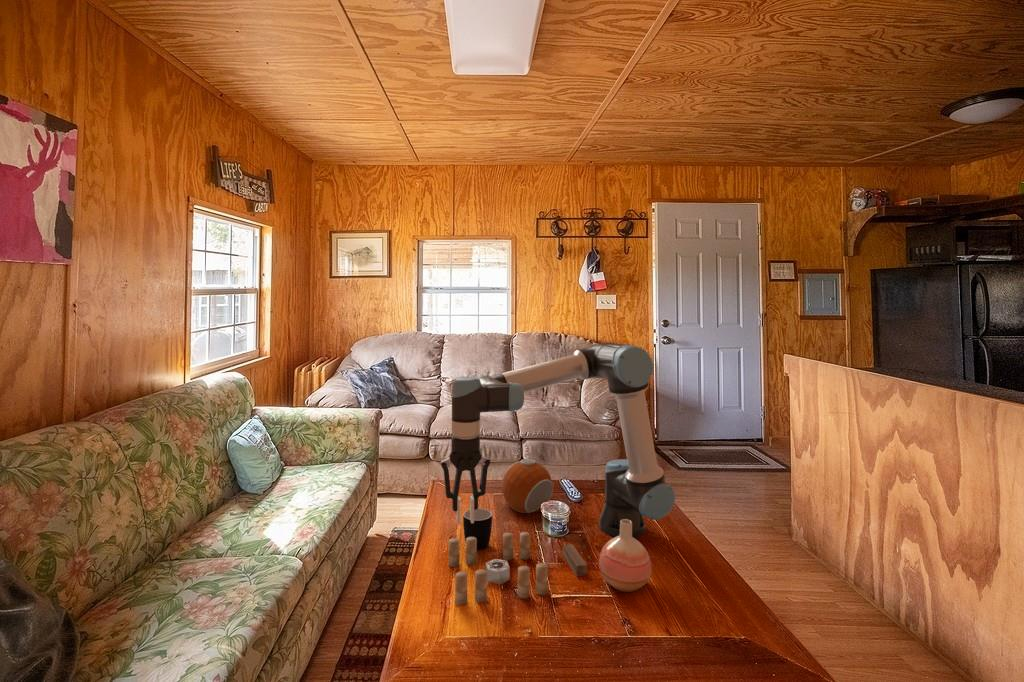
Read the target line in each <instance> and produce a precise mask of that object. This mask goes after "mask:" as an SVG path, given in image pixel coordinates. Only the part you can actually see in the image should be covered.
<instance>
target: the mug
mask: <svg viewBox="0 0 1024 682" xmlns="http://www.w3.org/2000/svg"><path fill="white" fill-rule="evenodd" d="M462 518H463V520H462V523H463V524H462V525H463V533H464V541H465V543H466V538H468V537H475V538H476V539H477V547H476V552H477V551H483V550H485V549H486V548H488V546H489V544H490V539H491V535H492V528H493V527H492V525H493V512H492V511H490V509H486V508H482V507H481V508H480V507H478V509H477V510H474V523H471V521H470V509H468V510H466V511H464V512H463V515H462Z"/></svg>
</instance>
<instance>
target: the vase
mask: <svg viewBox="0 0 1024 682" xmlns="http://www.w3.org/2000/svg"><path fill="white" fill-rule="evenodd" d="M598 559H599V560H598V565H599V567H598V568H599V571H600V573H601V576H602V577H603V578H604V580H605V581H606V582H607V583H608V584H609V585H610V586H612V587H613V588H614V589H615V590H618V591H619V592H623V593H624V592H625V593H631V592H635V591H636V590H639V589H640V588H642V587H643V586H644V585H646V584H647V583H648V581H649V580H650V577H651V574H652V561H651V557H650V555H649V552H648V551H647V549H646V547H645V546H644V545H643V544H642V543H641V542H640V541H639V540H637V539H636V537H634V538H633V537H632V521H630V520H628V519H622V520H621V521H620V535H619V536H617V537H615V536H613V538H611V539H609V540H608V541H607V542H606V543H605V544H604V546H603V547H602V549H601V551H600V554H599V558H598Z"/></svg>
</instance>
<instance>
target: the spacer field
mask: <svg viewBox="0 0 1024 682" xmlns="http://www.w3.org/2000/svg"><path fill="white" fill-rule="evenodd" d="M476 547H477V539H476V538H475V537H468V538H466V542H465V564H466V565H468V566H475V565H476V564H477V551H476ZM530 550H531V533H530V532H528V531H522V532H520V533H519V558H520V559H521V560H523V561H525V560H530V556H531V555H530V554H531V551H530ZM513 559H514V534H513V533H512V532H504V533H503V534H502V560H506V561H511V560H513ZM459 565H460V539H459V538H455V537H453V538H450V539H448V566H449V567H451V568H457V567H458V566H459ZM535 566H536V567H535V593H536V595H539V596H546V595H547V594H548V579H549V578H548V575H549V574H548V573H549V565H548V564H547V563H544V562H539V563H537V564H535ZM530 571H531V568H530V567H528V566H527V565H520V566H518V567H517V597H518V598H520V599H522V600H525V599H528V598H529V597H530V580H531V579H530V578H531V577H530V576H531V575H530ZM474 574H475V575H474V578H475V579H474V580H475V581H474V595H475V596H474V601H475V602H476V603H479V604H483V603H485V602H487V600H488V581H487V571H486V569H477V570H476V571H475V573H474ZM454 576H455V578H454V580H455V585H454V587H455V588H454V589H455V590H454V592H455V593H454V594H455V596H454V597H455V600H454V602H455V605H457V606H465V605H466V604H468V573H467V572H466V571H458V572H456V573H455V574H454Z"/></svg>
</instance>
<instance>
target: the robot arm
mask: <svg viewBox="0 0 1024 682" xmlns="http://www.w3.org/2000/svg"><path fill="white" fill-rule="evenodd" d="M653 373H654V363H653V360H652V357H651V356H650V354H649V353H648V352H647V350H645V349H644V348H642V347H639V346H637V345H634V344H624V343H618V342H617V343H616V342H603V343H598V344H594V345H591V346H588V347H585V348H584V347H583V348H581V349H577V350H575V351H574V352H573V353H572V354H570V355H566V356H563V357H559V358H555V359H551V360H547V361H544V362H540V363H535V364H532V365H528V366H524V367H521V368H517V369H516V368H515V369H513V370H509V371H504V372H501V373H497V374H493V375H486V374H485V375H479V376H459V377H455V378H454V379H453V380H452V384H451V385H452V386H451V394H450V396H451V435H452V437H451V453H450V454H449V457H447V458H445V459H440V465H441V468H442V470H443V477H444V478H443V479H444V488H445V497H446V499H451V500H452V503H451V504H452V507H451V508H452V511H453V512H456V516H455V518H456V524H457V525H461V497H460V496H459V492H460V485H461V480H462V475H463V472H464V471H469V472H468V473H469V476H470V477H469V478H470V484H471V490H472V495H469V510H470V521H471V523H474V510H477V509H478V508H479V500H480V499H479V498H480V497H482V496H486V491H487V490H486V488H487V487H486V486H487V477H488V469H489V466H490V465H491V460H490V457H488V456H486V457H485V456H482V453H481V448H480V447H481V438H480V433H481V424H480V423H481V413H494V412H495V413H496V412H513V411H519V410H521V409H522V408H523V406H524V403H525V393H528V392H532V391H535V390H540V389H543V388H546V387H550V386H555V385H558V384H561V383H565V382H569V381H573V380H576V379H580V380H584V381H585V380H588V379H604V380H607V381H606V382H607V384H608V391H609V393H610V394H612V395H613V396H614V397H615V401H616V405H617V410H618V416H619V421H620V427H621V432H622V438H623V444H624V449H625V450H624V451H625V454H626V459H625V458H624V459H623V458H622V459H619V458H618V459H613V460H609V461H608V462H607V463H606V465H605V470H604V474H605V479H604V481H605V483H604V484H605V485H604V491H605V492H604V505H603V508H602V511H601V512H600V516H599V519H598V526H599V529H600V530H601V531H602V532H603V533H605V534H607V535H609V536H612V537H617V536H619V535H620V521H621V520H622V519H628V520H630V521H632V537H633V538H638V537H641V536H642V535H643V534H644V533H645V530H646V523H645V520H644V517H645V518H647V519H649V520H654V521H655V520H656V521H657V520H661V519H663V518H665V517H666V516H667V515H668V514H669V513H671V509H673V508H674V505H675V501H676V493H675V490H674V488H672V487H673V486H671V485H670V484H668V483H666V478H665V472H664V469H663V468H662V467H661V466H659V465H658V462H657V456H656V451H655V445H654V438H653V433H652V428H651V427H652V426H651V422H650V415H649V411H648V409H649V408H648V406H647V400H646V394H645V393H646V391H647V389H649V386H650V385H649V382H650V380H651V378H652V377H651V376H652V375H653ZM451 463H452V465H453V466H454V467H455V475H454V482H453V488H452V491H451V483H450V482H451V481H450V471H449V468H450V467H451ZM479 463H480V464H481V467H480V468H481V470H480V478H479V479H480V480H479V489H478V483H477V477H476V469H475V468H476V467H477V465H478V464H479Z"/></svg>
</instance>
